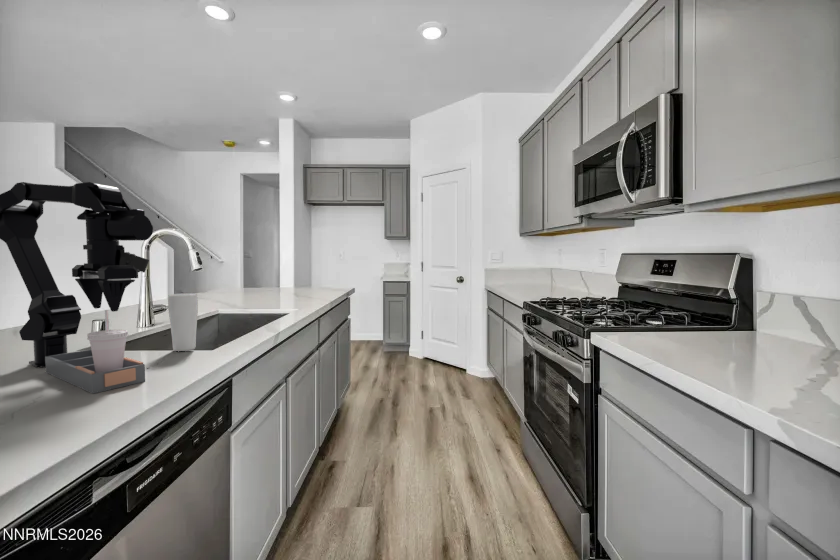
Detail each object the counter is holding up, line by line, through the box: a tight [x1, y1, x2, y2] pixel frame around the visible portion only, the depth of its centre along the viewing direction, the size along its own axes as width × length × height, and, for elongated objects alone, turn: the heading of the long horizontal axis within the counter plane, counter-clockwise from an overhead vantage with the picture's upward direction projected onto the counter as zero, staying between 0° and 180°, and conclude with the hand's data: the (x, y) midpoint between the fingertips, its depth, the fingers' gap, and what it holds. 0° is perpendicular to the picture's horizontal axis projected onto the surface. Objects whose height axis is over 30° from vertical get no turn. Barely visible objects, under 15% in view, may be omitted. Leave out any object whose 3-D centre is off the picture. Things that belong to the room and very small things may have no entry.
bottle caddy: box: [45, 348, 146, 394], centre depth 83 cm, size 25×9×4 cm, turn 58°
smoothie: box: [86, 309, 129, 373], centre depth 79 cm, size 6×6×14 cm
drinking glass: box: [167, 292, 199, 353], centre depth 107 cm, size 7×7×15 cm
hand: (105, 309), depth 90 cm, fingers open, 9 cm apart
